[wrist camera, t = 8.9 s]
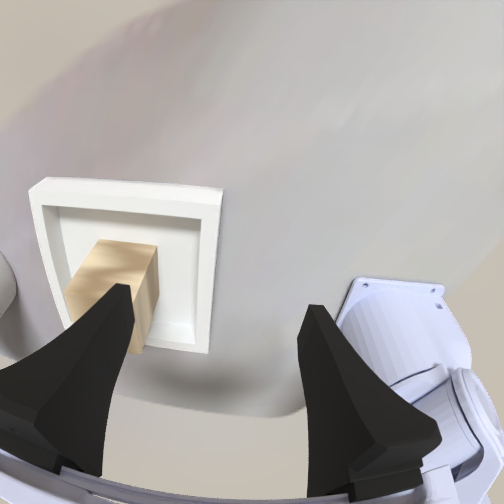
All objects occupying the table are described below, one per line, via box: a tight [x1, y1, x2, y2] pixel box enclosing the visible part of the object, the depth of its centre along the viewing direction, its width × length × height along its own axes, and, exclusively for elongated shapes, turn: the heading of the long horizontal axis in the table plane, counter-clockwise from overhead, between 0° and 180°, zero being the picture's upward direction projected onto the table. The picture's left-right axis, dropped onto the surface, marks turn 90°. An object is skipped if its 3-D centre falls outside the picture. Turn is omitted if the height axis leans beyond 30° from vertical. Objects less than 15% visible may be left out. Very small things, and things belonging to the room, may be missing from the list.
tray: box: [28, 177, 224, 354], centre depth 21 cm, size 13×13×2 cm
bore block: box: [63, 239, 160, 355], centre depth 19 cm, size 4×4×6 cm
